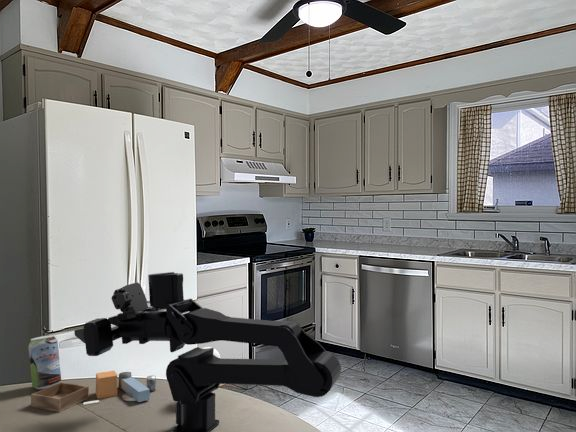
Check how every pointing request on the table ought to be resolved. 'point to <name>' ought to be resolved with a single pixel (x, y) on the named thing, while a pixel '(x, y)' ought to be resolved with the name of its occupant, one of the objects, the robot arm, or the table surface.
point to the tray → (59, 396)
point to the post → (151, 383)
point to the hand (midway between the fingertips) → (92, 326)
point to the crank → (133, 387)
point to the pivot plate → (127, 397)
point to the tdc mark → (91, 402)
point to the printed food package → (44, 362)
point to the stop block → (106, 384)
